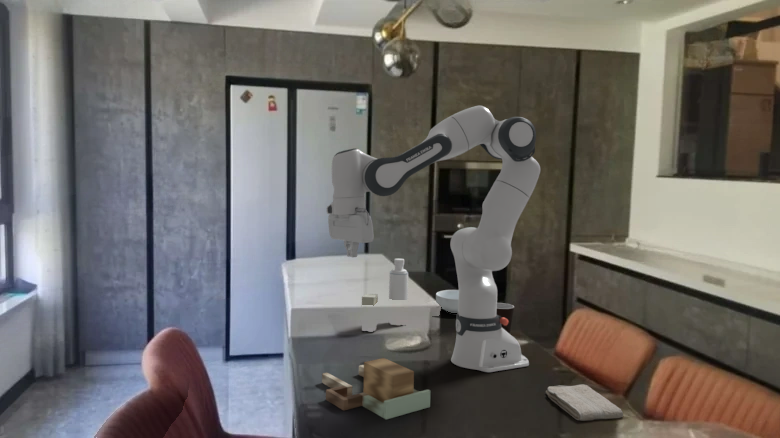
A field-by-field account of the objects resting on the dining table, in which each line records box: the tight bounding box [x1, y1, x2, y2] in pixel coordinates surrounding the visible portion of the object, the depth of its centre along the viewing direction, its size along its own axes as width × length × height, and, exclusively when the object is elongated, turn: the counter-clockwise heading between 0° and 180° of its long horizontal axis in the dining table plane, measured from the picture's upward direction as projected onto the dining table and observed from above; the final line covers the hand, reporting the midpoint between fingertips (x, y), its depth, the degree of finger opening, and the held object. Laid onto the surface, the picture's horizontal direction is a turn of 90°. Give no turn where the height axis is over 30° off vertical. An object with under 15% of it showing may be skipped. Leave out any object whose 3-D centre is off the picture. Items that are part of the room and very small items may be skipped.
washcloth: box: [545, 383, 624, 422], centre depth 152 cm, size 12×18×3 cm, turn 14°
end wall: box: [383, 388, 432, 420], centre depth 145 cm, size 1×13×4 cm, turn 127°
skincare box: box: [361, 293, 379, 306], centre depth 215 cm, size 6×4×12 cm
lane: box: [321, 364, 420, 419], centre depth 157 cm, size 27×23×2 cm
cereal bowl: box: [435, 289, 459, 314], centre depth 244 cm, size 17×17×7 cm
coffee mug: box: [497, 302, 515, 335], centre depth 214 cm, size 12×9×10 cm
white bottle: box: [388, 257, 409, 300], centre depth 223 cm, size 7×7×25 cm
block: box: [362, 357, 415, 403], centre depth 151 cm, size 12×6×9 cm, turn 37°
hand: (352, 256), depth 176 cm, fingers closed
